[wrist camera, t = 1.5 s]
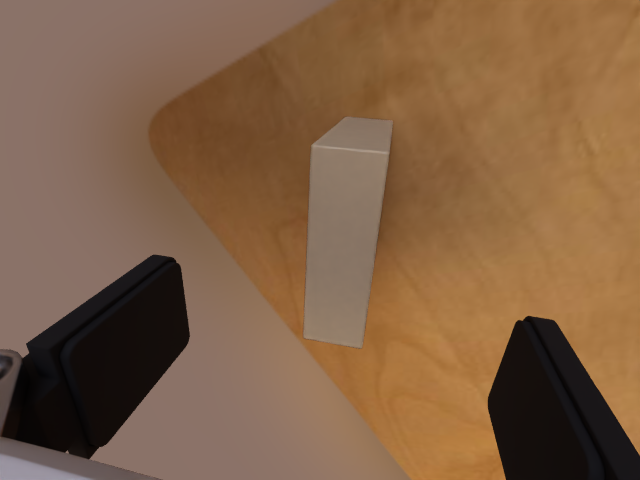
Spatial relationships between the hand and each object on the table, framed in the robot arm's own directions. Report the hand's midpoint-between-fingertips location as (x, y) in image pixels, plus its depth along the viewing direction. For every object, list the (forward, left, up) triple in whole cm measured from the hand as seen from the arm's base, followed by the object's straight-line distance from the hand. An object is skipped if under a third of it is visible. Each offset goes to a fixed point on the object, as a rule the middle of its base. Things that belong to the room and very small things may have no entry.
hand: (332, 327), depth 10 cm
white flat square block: (0, 0, -11) cm, 11 cm away
